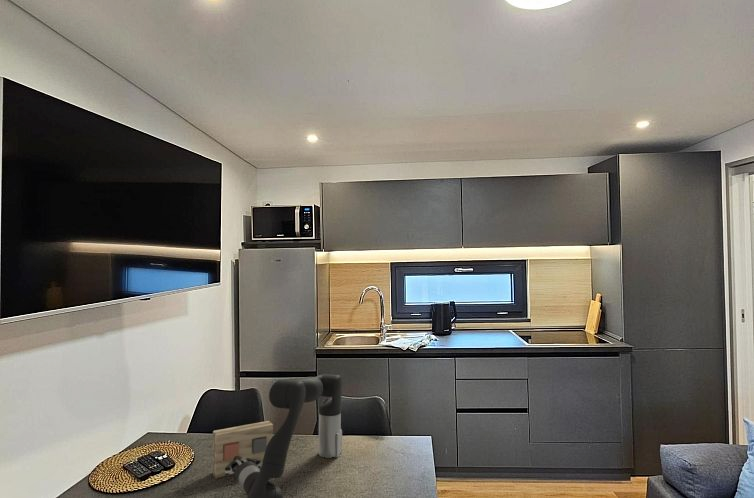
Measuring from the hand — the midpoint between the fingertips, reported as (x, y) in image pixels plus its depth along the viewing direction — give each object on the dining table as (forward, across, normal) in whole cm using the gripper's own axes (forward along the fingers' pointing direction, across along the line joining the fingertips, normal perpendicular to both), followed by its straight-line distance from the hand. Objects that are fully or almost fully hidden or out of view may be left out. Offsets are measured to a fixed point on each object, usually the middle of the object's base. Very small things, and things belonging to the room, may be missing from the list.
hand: (236, 458), depth 169 cm
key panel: (+11, -6, +9) cm, 15 cm away
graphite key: (+9, -11, +3) cm, 14 cm away
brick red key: (+9, 0, +3) cm, 9 cm away
